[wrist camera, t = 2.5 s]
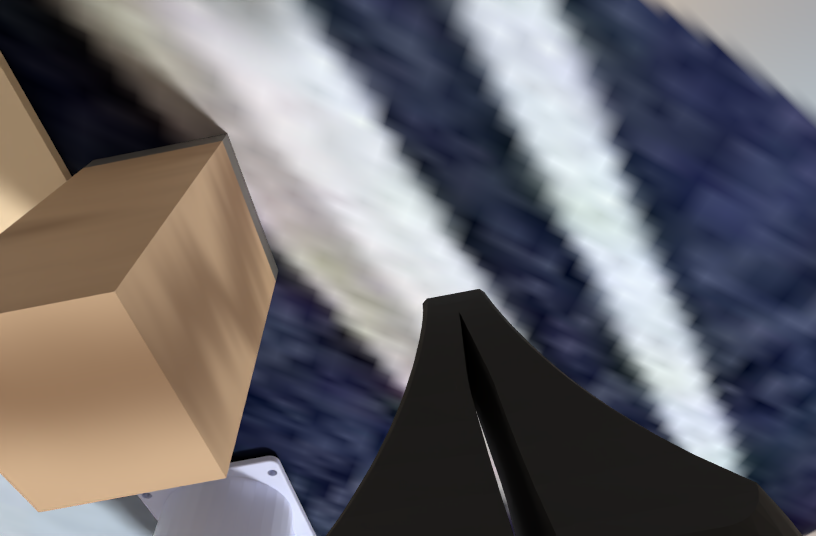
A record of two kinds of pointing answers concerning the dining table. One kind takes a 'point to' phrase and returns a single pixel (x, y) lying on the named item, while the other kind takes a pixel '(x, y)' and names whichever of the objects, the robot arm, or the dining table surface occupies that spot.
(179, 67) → the dining table surface
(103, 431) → the small brown box
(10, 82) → the cork mat
